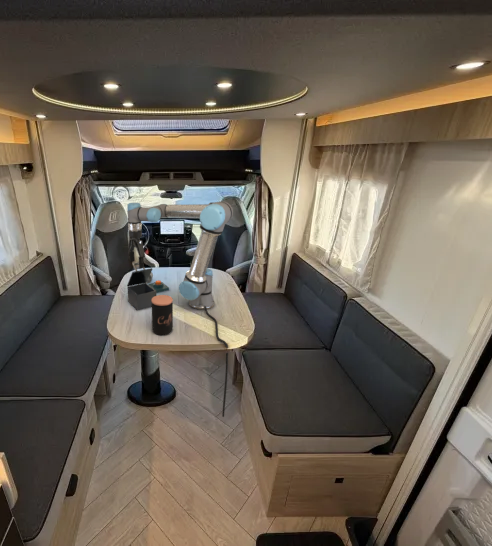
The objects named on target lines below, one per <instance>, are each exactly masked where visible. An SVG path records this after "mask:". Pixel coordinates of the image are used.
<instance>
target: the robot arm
mask: <svg viewBox="0 0 492 546" xmlns="http://www.w3.org/2000/svg"><path fill="white" fill-rule="evenodd" d="M126 207H127V209H126V212H127V220H128V221H127V227H128V228H127V229H128V245H127V250H128V252H129V262H130V263H133V262H136V260H135V258H136V257H135V249H136V251H137V253H138V257H137V258H138V261H139V265H138V268H139V269H143V268H145V262H144V261H145V259H144V258H146V253H145V247H144V244H143V239H140V238H142V237H143V230H142V226H143V223H142V222H150V223H158V222H159V221H160V220H161V219H199V222H200V225H199V229H200V231H201V232H200V235H199V237H198V242H197V245H196V248H195V251H194V255H193V257H192V261H191V264H190V268H189V270H187V271H186V273H185V275H184V278H183V281H181V282H180V284H179V286H178V291H179V294H180V295H181V297H183V299H185V300H188V305H189V306H190V307H191V308H193V309H195V310H199V311H205V313H206V315H207V316H208V317H209V318H210V319H212V320H213V321H214V323H215V335H216V336H215V337H216V339H217V340H218V341H219V342H221V343H223V344H224V345H225V348H226V349H228V348H229V345H228V343H227V342H226V341H225V340H223V339H221V337H219V329H218V321H217V319H216V318H215V317H214V316H212V315H211V314H210V313H209V312H208V310H210V309H213V307H214V306H215V300H214V296H213V293H212V292H213V276H214V273H213V270H212V269H211V268H208V267H209V264H210V261H211V258H212V255H213V252H214V248H215V247H216V246H215V245H216V243H217V240H218V237H219V236H220V235H221V236H222V234H223V232H224V228H225V226H226V224H228V223H229V222H230V221H231V220H232V219H233V216H234V215H233V214H234V209H233V206H232V205H231V204H230V203H229V202H227V201H224V200H223V201H216V202H215V201H214V202H209V203H208V204H203V203H202V204H198V203H197V204H166V203H160V204H158V205H153V206H150V207H146V206H145V207H144V206H142V205H141V202H128V204H127V206H126ZM228 369H229V352H226V353H225V375H224V376H225V377H224V389H223V401H222V403H223V404H222V412H221V413H222V414H221V417H223V418H224V417H225V412H226V411H225V409H226V397H227V386H228V373H229V372H228V371H229V370H228Z"/></svg>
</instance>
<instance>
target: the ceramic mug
mask: <svg viewBox="0 0 492 546" xmlns="http://www.w3.org/2000/svg"><path fill="white" fill-rule="evenodd" d="M153 278H154V274H153V272H152V271H151V274H150V276H149V278H148V280H147V282H146V283H147V284H151V282H152V281H153Z"/></svg>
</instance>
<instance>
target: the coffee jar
mask: <svg viewBox="0 0 492 546" xmlns="http://www.w3.org/2000/svg"><path fill="white" fill-rule="evenodd" d="M173 304H174V303H173V297H172V296H170V295H167V294H158V295H157V296H155V297H153V298H152V307H151V330H152V332H153V334H155V335H157V336H161V337H162V336H167V335H170V334H171V333H172V332H173V330H174V324H173V323H174V321H173V320H174V307H173V306H174V305H173Z"/></svg>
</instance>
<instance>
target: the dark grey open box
mask: <svg viewBox="0 0 492 546" xmlns="http://www.w3.org/2000/svg"><path fill="white" fill-rule="evenodd" d="M148 284H149V283H142V284H137V285H133V286H128V287H127V302H128V303H130V304H129V305H131V306H132V307H133V308H134V309H135V310H136V311H142V310H147V309H150V308H152V298H153V297H155V296H158V295H157V294H158V293H156V290H154V289H153V288H152V287H151V286H149V285H148Z"/></svg>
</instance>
